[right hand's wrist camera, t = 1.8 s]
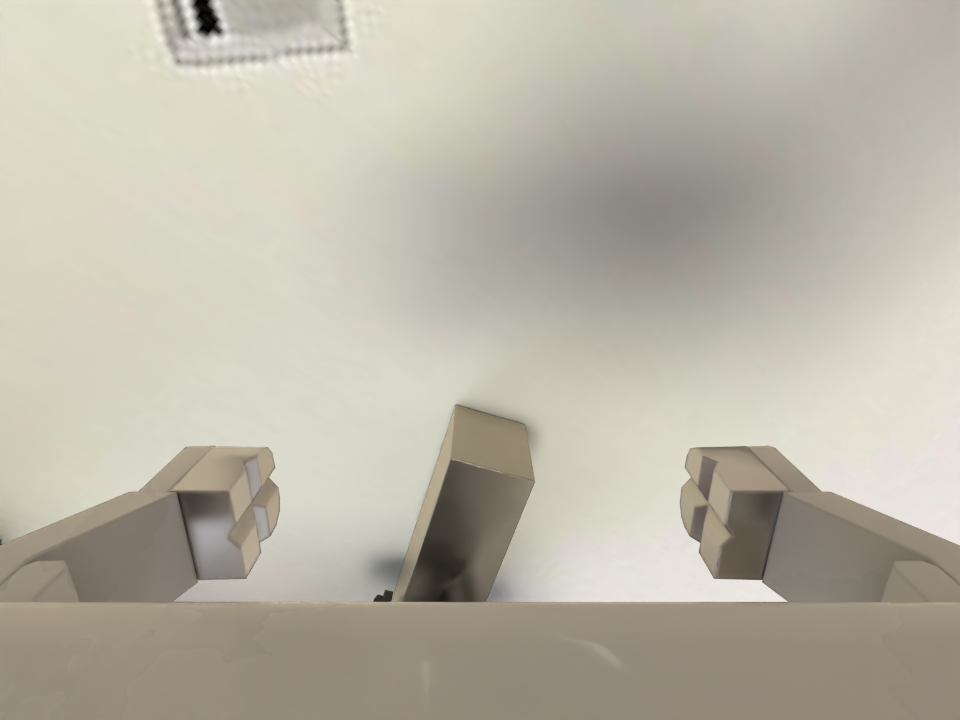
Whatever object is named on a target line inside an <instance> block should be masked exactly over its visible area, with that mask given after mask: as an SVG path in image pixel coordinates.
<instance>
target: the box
mask: <svg viewBox="0 0 960 720" xmlns="http://www.w3.org/2000/svg"><path fill="white" fill-rule="evenodd" d="M534 483H535V478H534V473H533V467H532V462H531V456H530V451H529V446H528V440H527V435H526V429H525V424H522V423H518V422H515V421H511V420H508V419H504V418H501V417H497V416H494V415H490V414H487V413H483V412H479V411H476V410H472V409H469V408H465V407H462V406H458V405H455V408H454V411H453V414H452V417H451V420H450V423H449V426H448V429H447V432H446V435H445V438H444V441H443V444H442V447H441V450H440V453H439V456H438V459H437V462H436V465H435V468H434V472H433V475H432V478H431V481H430V484H429V487H428V490H427V493H426V496H425V499H424V502H423V505H422V508H421V511H420V514H419V517H418V520H417V523H416V526H415V529H414V532H413V535H412V538H411V541H410V544H409V547H408V551H407V554H406V557H405V560H404V563H403V566H402V569H401V572H400V575H399V578H398V581H397V584H396V587H395V590H394V595H393V600H392V602H486V600H487V598H488V595H489V593H490V590H491V588H492V585H493V583H494V580H495V578H496V576H497V573H498V571H499V568H500V566H501V563H502V561H503V558H504V556H505V554H506V551H507V549H508V546H509V544H510V541H511V539H512V537H513V534H514V532H515V529H516V527H517V524H518V522H519V519H520V517H521V515H522V512H523V510H524V507H525V505H526V502H527V500H528V497H529V495H530V493H531V490H532V488H533V485H534Z"/></svg>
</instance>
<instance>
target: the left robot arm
mask: <svg viewBox="0 0 960 720" xmlns="http://www.w3.org/2000/svg"><path fill="white" fill-rule="evenodd" d="M392 595H393V591H388V590H385V592H384V595H383V596H381V595H377V596H376V597H375V599H374V602H391V600H392Z"/></svg>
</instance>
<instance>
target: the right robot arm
mask: <svg viewBox="0 0 960 720" xmlns="http://www.w3.org/2000/svg"><path fill="white" fill-rule="evenodd" d="M274 469H275V464H274V459H273V454H272V452H271V450H270V449H269V448H268V447H230V446H217V447H216V446H191V447H185V448H184V449H183V450H182V451H181V452H180V453H179V454H178V455H177V456H176V457H175V458H174V459H173V460H172V461H170V462H169V463H168V464H167V465H166V466H165V467H164V468H163V469H162V470H161V471H160V472H159V473H158V474H157V475H155V476H154V477H153V478H152V479H151V480H150V481H149V482H148V483H147V484H146V485H145V486H144V487H143V488H142V489H141V490H139V491H138V492H128V493H125V494H123V495H121V496H118V497H116V498H113V499H111V500H109V501H106V502H104V503H101V504H99V505H97V506H94V507H92V508H89V509H87V510H84V511H82V512H80V513H77V514H75V515H72V516H70V517H68V518H65V519H63V520H60V521H58V522H56V523H53V524H51V525H48V526H46V527H44V528H41V529H39V530H36V531H34V532H32V533H29V534H27V535H24V536H22V537H19V538H17V539H15V540H12V541H10V542H7V543H5V544H3V545H0V720H960V546H959V545H957V544H955V543H952V542H950V541H947V540H945V539H943V538H940V537H938V536H935V535H933V534H931V533H928V532H926V531H923V530H921V529H919V528H916V527H914V526H911V525H909V524H907V523H904V522H902V521H899V520H897V519H895V518H892V517H890V516H887V515H885V514H883V513H880V512H878V511H875V510H873V509H871V508H868V507H866V506H863V505H861V504H859V503H856V502H854V501H851V500H849V499H847V498H844V497H842V496H839V495H837V494H835V493H832V492H822V491H821V490H820V489H818V488H817V487H816V486H815V485H814V484H813V483H812V482H811V481H810V480H809V479H808V478H807V477H806V476H805V475H804V474H802V473H801V472H800V471H799V470H798V469H797V468H796V467H795V466H794V465H793V464H792V463H791V462H790V461H789V460H788V459H786V458H785V457H784V456H783V455H782V454H781V453H780V452H779V451H778V450H777V449H776V448H774V447H771V446H737V447H696V448H690V450H689V452H688V454H687V458H686V463H685V469H686V470H687V472H688V473H689V475H690V476H691V478H690V479H689V480H688V481H687V482H686V483H685V484H684V485H683V487H682V489H681V497H680V509H681V517H682V520H683V524H684V527H685V529H686V530H687V532H688V534H689V536H690V537H692V538H694V539H695V540H697V541H698V542H700V549H699V554H700V555H701V557H702V559H703V560H704V562H705V564H706V566H707V567H708V569H709V571H710V573H711V574H712V576H713V578H714V579H746V580H763V581H762V582H763V583H764V584H765V585H767V586H768V587H769V588H771V589H772V590H773V591H775V592H776V593H777V594H779V595H780V596H781V597H783V598H784V599H785V600H787V601H788V602H172V601H174V600H175V599H176V598H178V597H179V596H180V595H182V594H183V593H184V592H186V591H187V590H188V589H189V588H191V587H192V586H193V585H195V584H196V583H197V582H198V581H197V580H214V579H246V578H247V576H248V574H249V573H250V571H251V569H252V567H253V566H254V564H255V562H256V560H257V559H258V557H259V555H260V554H261V549H260V542H262V541H263V540H265V539H266V538H268V537H270V536H271V534H272V532H273V530H274V528H275V527H276V524H277V520H278V516H279V511H280V496H279V489H278V487H277V485H276V484H275V483H274V482H273V481H272V480H271V479H270V478H269V476H270V475H271V473H272V472H273V470H274Z"/></svg>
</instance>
